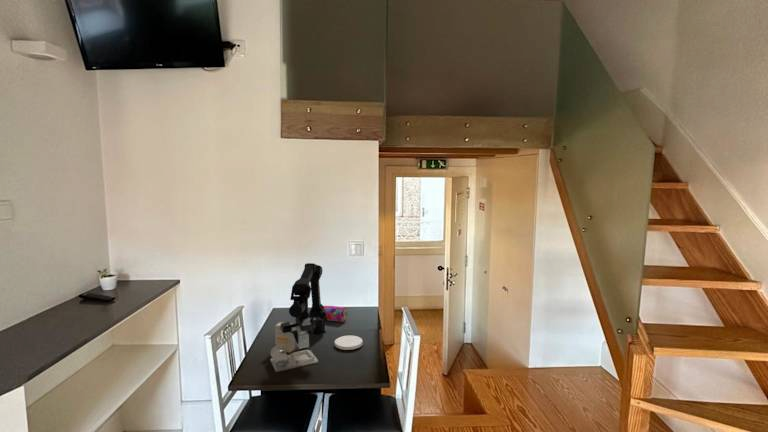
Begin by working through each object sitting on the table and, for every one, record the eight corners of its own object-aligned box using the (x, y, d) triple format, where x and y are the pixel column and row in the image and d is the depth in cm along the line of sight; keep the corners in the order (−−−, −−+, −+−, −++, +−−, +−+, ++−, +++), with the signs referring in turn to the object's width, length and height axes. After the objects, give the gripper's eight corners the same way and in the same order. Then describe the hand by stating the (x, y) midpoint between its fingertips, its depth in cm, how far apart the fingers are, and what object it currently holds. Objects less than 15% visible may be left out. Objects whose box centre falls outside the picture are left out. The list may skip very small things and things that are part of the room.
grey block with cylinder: (305, 342, 180) (305, 329, 179) (310, 348, 173) (310, 335, 172) (296, 344, 178) (295, 331, 177) (300, 350, 171) (300, 337, 170)
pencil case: (308, 320, 228) (308, 305, 227) (316, 315, 237) (316, 301, 236) (341, 324, 221) (341, 309, 220) (348, 319, 230) (348, 304, 229)
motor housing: (310, 352, 185) (310, 338, 184) (318, 362, 174) (317, 347, 173) (270, 360, 176) (269, 346, 175) (275, 372, 165) (275, 356, 165)
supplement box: (295, 349, 188) (294, 323, 187) (290, 353, 184) (289, 327, 182) (281, 346, 191) (280, 321, 190) (275, 350, 186) (274, 324, 185)
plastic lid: (363, 339, 200) (362, 335, 200) (362, 351, 186) (362, 346, 186) (336, 340, 200) (336, 335, 199) (333, 352, 186) (333, 347, 185)
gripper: (285, 318, 163) (286, 353, 165) (326, 311, 172) (327, 345, 173) (279, 310, 173) (280, 344, 175) (319, 304, 182) (319, 336, 183)
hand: (302, 342), depth 176 cm, fingers closed on grey block with cylinder, 4 cm apart
